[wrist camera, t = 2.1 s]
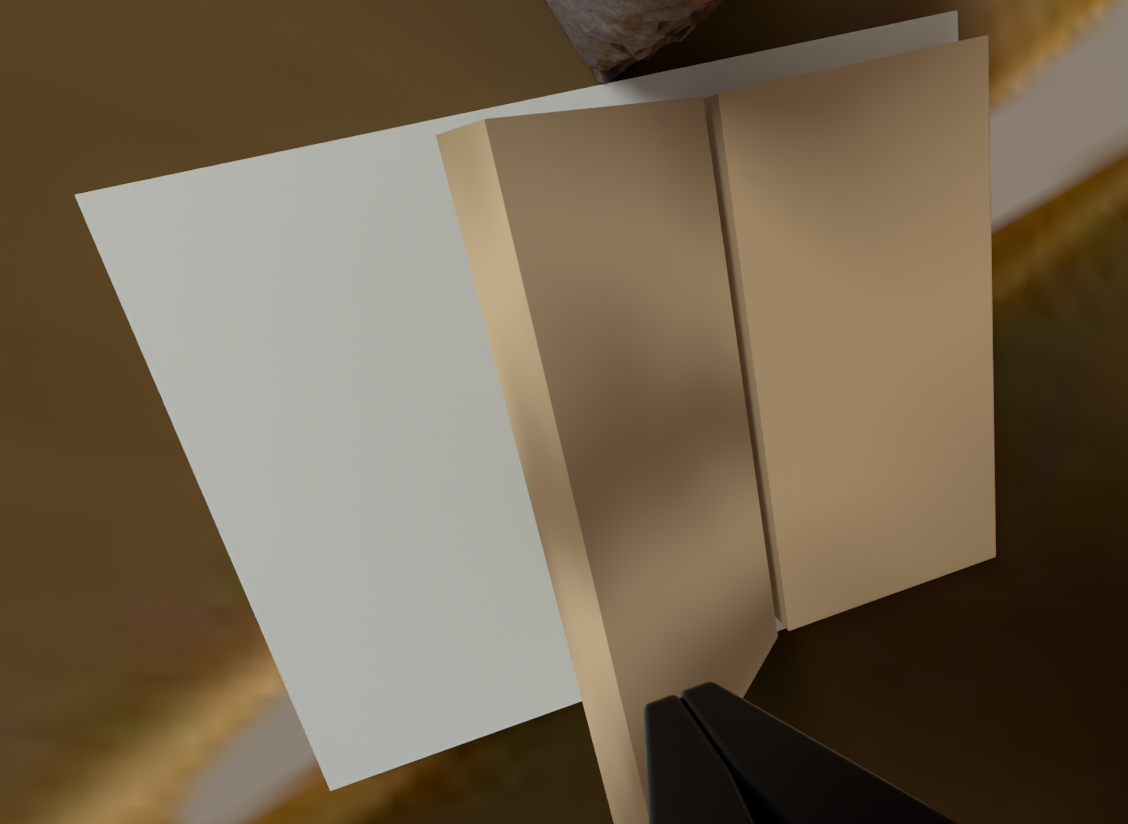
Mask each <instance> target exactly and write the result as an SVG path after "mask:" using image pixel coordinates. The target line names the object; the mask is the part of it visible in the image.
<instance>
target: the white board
mask: <svg viewBox="0 0 1128 824" xmlns="http://www.w3.org/2000/svg"><path fill="white" fill-rule="evenodd" d="M693 97H703V100H704V107H705V114H706V122H707V129H708V136H709V143H710V151H711V158H712V165H713V172H714V179H715V187H716V194H717V201H718V208H719V215H720V223H721V230H722V237H723V244H724V252H725V259H726V266H727V273H728V280H729V288H730V295H731V302H732V309H733V316H734V324H735V331H736V338H737V345H738V353H739V360H740V367H741V374H742V381H743V389H744V396H745V403H746V410H747V418H748V425H749V432H750V439H751V446H752V454H753V461H754V468H755V475H756V482H757V490H758V497H759V504H760V511H761V519H762V526H763V533H764V540H765V547H766V555H767V562H768V569H769V576H770V583H771V591H772V598H773V605H774V612H775V620H776V627H777V631H779V630H782V629H785V628H786V629H787V630H788V631H790V630H793V629H796V628H798V627H801V626H804V625H807V624H810V623H812V622H815V621H818V620H821V619H824V618H826V617H829V616H832V615H835V614H838V613H840V612H843V611H846V610H849V609H851V608H854V607H857V606H860V605H863V604H865V603H868V602H871V601H874V600H877V599H879V598H882V597H885V596H888V595H891V594H893V593H896V592H899V591H902V590H904V589H907V588H910V587H913V586H916V585H918V584H921V583H924V582H927V581H930V580H932V579H935V578H938V577H941V576H944V575H946V574H949V573H952V572H955V571H957V570H960V569H963V568H966V567H969V566H971V565H974V564H977V563H980V562H983V561H985V560H988V559H991V558H994V557H996V534H995V465H994V396H993V328H992V259H991V193H990V192H991V191H990V122H989V53H988V35H985V36H980V37H976V38H971V39H966V40H962V41H958V13H957V10H956V11H951V12H947V13H942V14H937V15H932V16H927V17H923V18H918V19H913V20H908V21H903V22H899V23H894V24H889V25H884V26H880V27H875V28H870V29H865V30H860V31H856V32H851V33H846V34H841V35H837V36H832V37H827V38H822V39H817V40H813V41H808V42H803V43H798V44H793V45H789V46H784V47H779V48H774V49H770V50H765V51H760V52H755V53H750V54H746V55H741V56H736V57H731V58H727V59H722V60H717V61H712V62H707V63H703V64H698V65H693V66H688V67H683V68H679V69H674V70H669V71H664V72H660V73H655V74H650V75H645V76H640V77H636V78H631V79H626V80H621V81H617V82H612V83H607V84H602V85H597V86H593V87H588V88H583V89H578V90H573V91H569V92H564V93H559V94H554V95H550V96H545V97H540V98H535V99H530V100H526V101H521V102H516V103H511V104H507V105H502V106H497V107H492V108H487V109H483V110H478V111H473V112H468V113H463V114H459V115H454V116H449V117H444V118H440V119H435V120H430V121H425V122H420V123H416V124H411V125H406V126H401V127H397V128H392V129H387V130H382V131H377V132H373V133H368V134H363V135H358V136H353V137H349V138H344V139H339V140H334V141H330V142H325V143H320V144H315V145H310V146H306V147H301V148H296V149H291V150H287V151H282V152H277V153H272V154H267V155H263V156H258V157H253V158H248V159H243V160H239V161H234V162H229V163H224V164H220V165H215V166H210V167H205V168H200V169H196V170H191V171H186V172H181V173H177V174H172V175H167V176H162V177H157V178H153V179H148V180H143V181H138V182H133V183H129V184H124V185H119V186H114V187H110V188H105V189H100V190H95V191H90V192H86V193H81V194H76V195H75V197H76V200H77V202H78V204H79V207H80V209H81V211H82V214H83V216H84V218H85V221H86V223H87V225H88V228H89V230H90V232H91V235H92V237H93V239H94V241H95V244H96V246H97V248H98V251H99V253H100V255H101V258H102V260H103V262H104V265H105V267H106V269H107V272H108V274H109V276H110V279H111V281H112V283H113V286H114V288H115V290H116V293H117V295H118V297H119V300H120V302H121V304H122V307H123V309H124V311H125V314H126V316H127V318H128V321H129V323H130V325H131V328H132V330H133V332H134V335H135V337H136V339H137V342H138V344H139V346H140V349H141V351H142V353H143V356H144V358H145V360H146V363H147V365H148V367H149V370H150V372H151V374H152V377H153V379H154V381H155V384H156V386H157V388H158V391H159V393H160V395H161V398H162V400H163V402H164V405H165V407H166V409H167V412H168V414H169V416H170V419H171V421H172V423H173V426H174V428H175V430H176V432H177V435H178V437H179V439H180V442H181V444H182V446H183V449H184V451H185V453H186V456H187V458H188V460H189V463H190V465H191V467H192V470H193V472H194V474H195V477H196V479H197V481H198V484H199V486H200V488H201V491H202V493H203V495H204V498H205V500H206V502H207V505H208V507H209V509H210V512H211V514H212V516H213V519H214V521H215V523H216V526H217V528H218V530H219V533H220V535H221V537H222V540H223V542H224V544H225V547H226V549H227V551H228V554H229V556H230V558H231V561H232V563H233V565H234V568H235V570H236V572H237V575H238V577H239V579H240V582H241V584H242V586H243V589H244V591H245V593H246V596H247V598H248V600H249V603H250V605H251V607H252V610H253V612H254V614H255V617H256V619H257V621H258V623H259V626H260V628H261V630H262V633H263V635H264V637H265V640H266V642H267V644H268V647H269V649H270V651H271V654H272V656H273V658H274V661H275V663H276V665H277V668H278V670H279V672H280V675H281V677H282V679H283V682H284V684H285V686H286V689H287V691H288V693H289V696H290V698H291V700H292V703H293V705H294V707H295V710H296V712H297V714H298V717H299V719H300V721H301V724H302V726H303V728H304V731H305V733H306V735H307V738H308V740H309V742H310V745H311V746H312V749H313V752H314V754H315V756H316V759H317V761H318V763H319V766H320V768H321V770H322V773H323V775H324V777H325V780H326V782H327V784H328V787H329V789H330V791H332V790H335V789H337V788H340V787H343V786H346V785H349V784H351V783H354V782H357V781H360V780H362V779H365V778H368V777H371V776H374V775H376V774H379V773H382V772H385V771H388V770H390V769H393V768H396V767H399V766H402V765H404V764H407V763H410V762H413V761H416V760H418V759H421V758H424V757H427V756H430V755H432V754H435V753H438V752H441V751H444V750H446V749H449V748H452V747H455V746H458V745H460V744H463V743H466V742H469V741H472V740H474V739H477V738H480V737H483V736H486V735H488V734H491V733H494V732H497V731H500V730H502V729H505V728H508V727H511V726H514V725H516V724H519V723H522V722H525V721H528V720H530V719H533V718H536V717H539V716H542V715H544V714H547V713H550V712H553V711H556V710H558V709H561V708H564V707H567V706H569V705H572V704H575V703H578V702H581V701H582V698H581V694H580V690H579V687H578V683H577V679H576V675H575V671H574V667H573V663H572V659H571V656H570V652H569V648H568V644H567V640H566V636H565V632H564V629H563V625H562V621H561V617H560V613H559V609H558V605H557V601H556V598H555V594H554V590H553V586H552V582H551V578H550V574H549V571H548V567H547V563H546V559H545V555H544V551H543V547H542V543H541V540H540V536H539V532H538V528H537V524H536V520H535V516H534V513H533V509H532V505H531V501H530V497H529V493H528V489H527V486H526V482H525V478H524V474H523V470H522V466H521V462H520V458H519V455H518V451H517V447H516V443H515V439H514V435H513V431H512V428H511V424H510V420H509V416H508V412H507V408H506V404H505V400H504V397H503V393H502V389H501V385H500V381H499V377H498V373H497V370H496V366H495V362H494V358H493V354H492V350H491V346H490V342H489V339H488V335H487V331H486V327H485V323H484V319H483V315H482V312H481V308H480V304H479V300H478V296H477V292H476V288H475V285H474V281H473V277H472V273H471V269H470V265H469V261H468V257H467V254H466V250H465V246H464V242H463V238H462V234H461V230H460V227H459V223H458V219H457V215H456V211H455V207H454V203H453V199H452V196H451V192H450V188H449V184H448V180H447V176H446V172H445V169H444V165H443V161H442V157H441V153H440V149H439V145H438V141H437V138H436V135H437V134H440V133H444V132H447V131H450V130H453V129H456V128H459V127H462V126H465V125H468V124H471V123H474V122H477V121H480V120H483V119H489V118H499V117H508V116H518V115H528V114H538V113H547V112H557V111H567V110H576V109H586V108H596V107H606V106H615V105H625V104H635V103H645V102H654V101H664V100H674V99H684V98H693Z"/></svg>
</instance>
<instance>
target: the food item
mask: <svg viewBox="0 0 1128 824" xmlns="http://www.w3.org/2000/svg"><path fill="white" fill-rule="evenodd" d="M544 1H545V2H546V4H547V5H548V7H549V8H550V10H551V11H552V13H553V14H554V16H555V17H556V19H557V20H558V22H559V23H560V25H561V26H562V28H563V30H564V31H565V33H566V35H567V36H568V38H569V40H570V41H571V43H572V45H573V46H574V48H575V50H576V52H577V53H578V55H579V57H580V58H581V60H582V62H583V63H585V64H586V65H588V66H589V67H591V68H592V69H593V71H594V74H595V76H596V79H597V81H599V82H602V83H604V84H606V83H608V82H610V81H611V80H612V79H613V78H615V77H616V76H617V75H618V74H620V73H623V72H625V71H627V70H628V69H629V68H631V67H632V66H633V65H635V64H636V63H637V62H639V61H640V60H645V61H648V60H649V59H650V58H651V57H652V56H653V55H654V54H655V53H656V52H657V51H658V50H659V49H660V48H661V47H662V46H663V45H666V44H670V43H674V42H678V41H682V40H683V39H684V38H685V37H686V36H687V35H688V34H689V33H690V32H691V31H692V30H693V29H694V28H695V27H696V26H697V25H698V24H699V23H700V22H701V21H702V20H703V19H704V18H705V17H707V16H708V15H709V14H710V13H711V12H712V11H713V10H714V9H715V8H716V7H717V6H718V5H719V4H720V3H721V1H722V0H544ZM689 25H690V26H689ZM687 26H689V30H688V31H687V32H686V33H685V34H684V35H683V36H682V37H678V36H675V34H677V33H678V32H679V31H680V30H682V29H684V28H685V27H687Z"/></svg>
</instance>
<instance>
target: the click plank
mask: <svg viewBox="0 0 1128 824" xmlns="http://www.w3.org/2000/svg"><path fill="white" fill-rule="evenodd" d="M436 138H437V141H438V145H439V149H440V153H441V157H442V161H443V165H444V169H445V172H446V176H447V180H448V184H449V188H450V192H451V196H452V199H453V203H454V207H455V211H456V215H457V219H458V223H459V227H460V230H461V234H462V238H463V242H464V246H465V250H466V254H467V257H468V261H469V265H470V269H471V273H472V277H473V281H474V285H475V288H476V292H477V296H478V300H479V304H480V308H481V312H482V315H483V319H484V323H485V327H486V331H487V335H488V339H489V342H490V346H491V350H492V354H493V358H494V362H495V366H496V370H497V373H498V377H499V381H500V385H501V389H502V393H503V397H504V400H505V404H506V408H507V412H508V416H509V420H510V424H511V428H512V431H513V435H514V439H515V443H516V447H517V451H518V455H519V458H520V462H521V466H522V470H523V474H524V478H525V482H526V486H527V489H528V493H529V497H530V501H531V505H532V509H533V513H534V516H535V520H536V524H537V528H538V532H539V536H540V540H541V543H542V547H543V551H544V555H545V559H546V563H547V567H548V571H549V574H550V578H551V582H552V586H553V590H554V594H555V598H556V601H557V605H558V609H559V613H560V617H561V621H562V625H563V629H564V632H565V636H566V640H567V644H568V648H569V652H570V656H571V659H572V663H573V667H574V671H575V675H576V679H577V683H578V687H579V690H580V694H581V698H582V702H583V706H584V710H585V714H586V717H587V721H588V725H589V729H590V733H591V737H592V741H593V744H594V748H595V752H596V756H597V760H598V764H599V768H600V772H601V775H602V779H603V783H604V787H605V791H606V795H607V799H608V802H609V806H610V810H611V814H612V818H613V822H614V824H649V819H648V798H647V777H646V756H645V736H644V715H643V709H644V706H645V705H646V704H648V703H650V702H653V701H655V700H658V699H661V698H663V697H666V696H669V695H676V696H678V697H679V694H680V693H681V692H682V691H683V690H685V689H688V688H691V687H693V686H696V685H699V684H702V683H704V682H709V681H710V682H715V683H717V684H719V685H720V686H722V687H724V688H726V689H727V690H729V691H731V692H733V693H734V694H736V695H738V696H739V697H741V698H743V697H744V695H745V693H746V692H747V690H748V688H749V686H750V685H751V683H752V681H753V679H754V678H755V676H756V674H757V672H758V671H759V669H760V667H761V665H762V664H763V662H764V660H765V658H766V657H767V655H768V653H769V651H770V650H771V648H772V646H773V644H774V643H775V641H776V639H777V637H778V634H777V627H776V620H775V612H774V605H773V598H772V591H771V583H770V576H769V569H768V562H767V555H766V547H765V540H764V533H763V526H762V519H761V511H760V504H759V497H758V490H757V482H756V475H755V468H754V461H753V454H752V446H751V439H750V432H749V425H748V418H747V410H746V403H745V396H744V389H743V381H742V374H741V367H740V360H739V353H738V345H737V338H736V331H735V324H734V316H733V309H732V302H731V295H730V288H729V280H728V273H727V266H726V259H725V252H724V244H723V237H722V230H721V223H720V215H719V208H718V201H717V194H716V187H715V179H714V172H713V165H712V158H711V151H710V143H709V136H708V129H707V122H706V114H705V107H704V100H703V97H693V98H684V99H674V100H664V101H654V102H645V103H635V104H625V105H615V106H606V107H596V108H586V109H576V110H567V111H557V112H547V113H538V114H528V115H518V116H508V117H499V118H489V119H483V120H480V121H477V122H474V123H471V124H468V125H465V126H462V127H459V128H456V129H453V130H450V131H447V132H444V133H440V134H437V135H436Z"/></svg>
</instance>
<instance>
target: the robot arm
mask: <svg viewBox="0 0 1128 824" xmlns="http://www.w3.org/2000/svg"><path fill="white" fill-rule="evenodd" d="M643 715H644V736H645V756H646V777H647V798H648V819H649V824H961V823H959V822H958V821H956V820H954V819H952V818H951V817H949V816H947V815H945V814H944V813H942V812H940V811H938V810H937V809H935V808H933V807H931V806H930V805H928V804H926V803H924V802H923V801H921V800H919V799H917V798H916V797H914V796H912V795H910V794H909V793H907V792H905V791H904V790H902V789H900V788H898V787H897V786H895V785H893V784H891V783H890V782H888V781H886V780H884V779H883V778H881V777H879V776H877V775H876V774H874V773H872V772H870V771H869V770H867V769H865V768H863V767H862V766H860V765H858V764H856V763H855V762H853V761H851V760H849V759H848V758H846V757H844V756H842V755H841V754H839V753H837V752H835V751H834V750H832V749H830V748H828V747H827V746H825V745H823V744H822V743H820V742H818V741H816V740H815V739H813V738H811V737H809V736H808V735H806V734H804V733H802V732H801V731H799V730H797V729H795V728H794V727H792V726H790V725H788V724H787V723H785V722H783V721H781V720H780V719H778V718H776V717H774V716H773V715H771V714H769V713H767V712H766V711H764V710H762V709H760V708H759V707H757V706H755V705H753V704H752V703H750V702H748V701H746V700H745V699H743V698H741V697H739V696H738V695H736V694H734V693H733V692H731V691H729V690H727V689H726V688H724V687H722V686H720V685H719V684H717V683H715V682H710V681H709V682H704V683H702V684H699V685H696V686H693V687H691V688H688V689H685V690H683V691H682V692H681V693H680V694H679V697H678V696H676V695H669V696H666V697H663V698H661V699H658V700H655V701H653V702H650V703H648V704H646V705H645V706H644V709H643Z"/></svg>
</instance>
